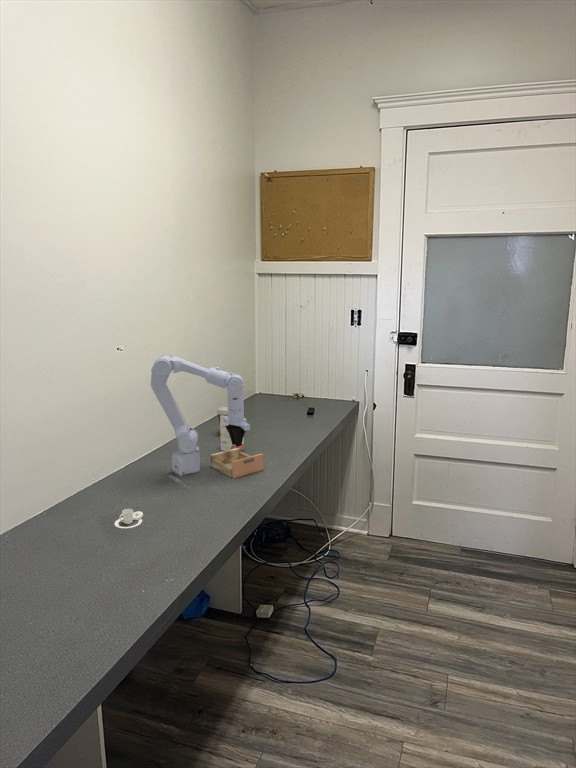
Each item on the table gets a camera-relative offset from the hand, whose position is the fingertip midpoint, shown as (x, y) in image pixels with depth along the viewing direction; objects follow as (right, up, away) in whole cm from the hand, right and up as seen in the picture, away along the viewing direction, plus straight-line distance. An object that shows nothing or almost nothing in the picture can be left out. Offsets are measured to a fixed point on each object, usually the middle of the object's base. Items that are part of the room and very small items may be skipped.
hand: (236, 445), depth 203 cm
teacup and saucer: (-26, -20, -36) cm, 49 cm away
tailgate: (+5, -10, -4) cm, 12 cm away
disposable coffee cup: (-8, -1, +47) cm, 48 cm away
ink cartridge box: (-4, -5, +26) cm, 27 cm away
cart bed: (-1, -10, +3) cm, 10 cm away
